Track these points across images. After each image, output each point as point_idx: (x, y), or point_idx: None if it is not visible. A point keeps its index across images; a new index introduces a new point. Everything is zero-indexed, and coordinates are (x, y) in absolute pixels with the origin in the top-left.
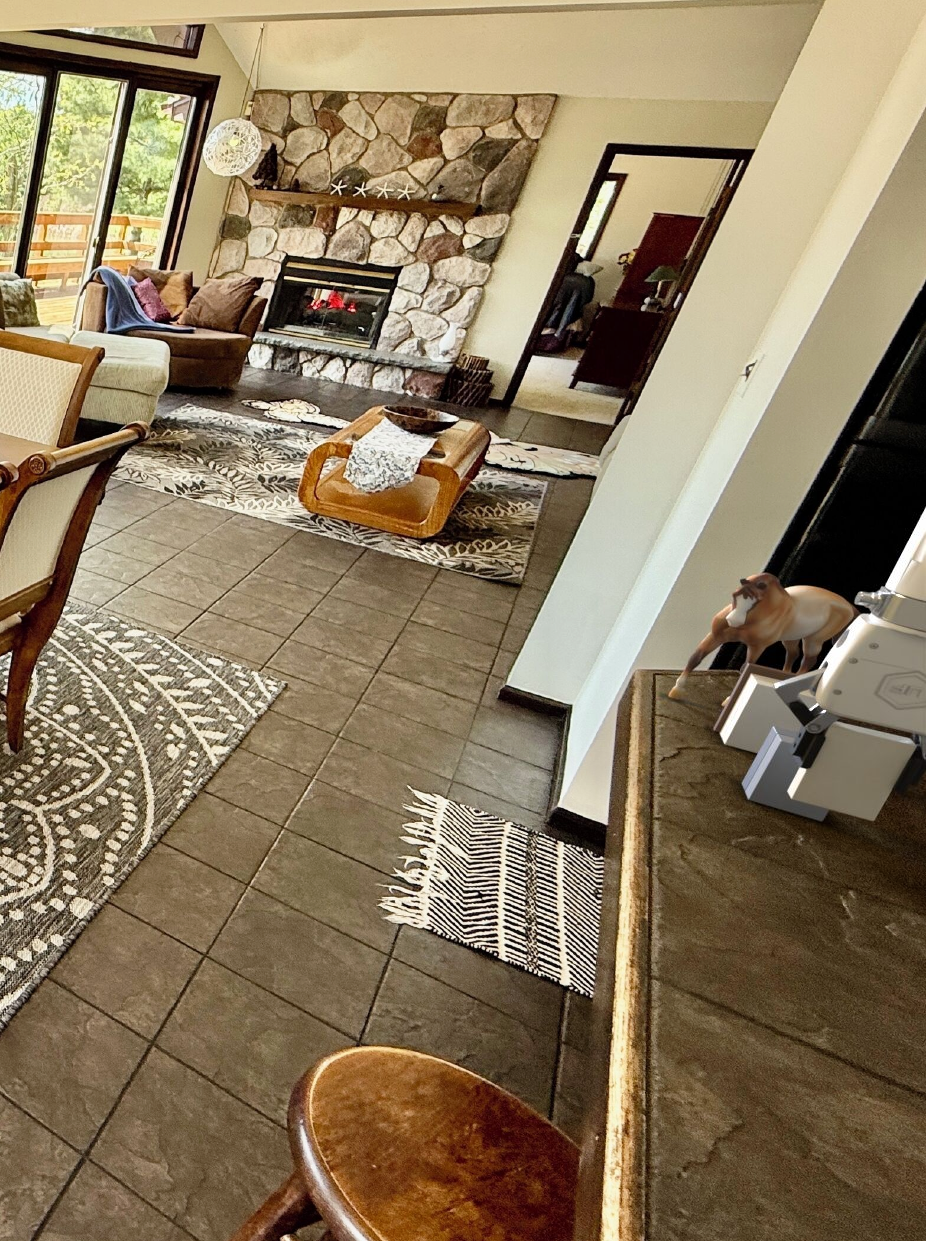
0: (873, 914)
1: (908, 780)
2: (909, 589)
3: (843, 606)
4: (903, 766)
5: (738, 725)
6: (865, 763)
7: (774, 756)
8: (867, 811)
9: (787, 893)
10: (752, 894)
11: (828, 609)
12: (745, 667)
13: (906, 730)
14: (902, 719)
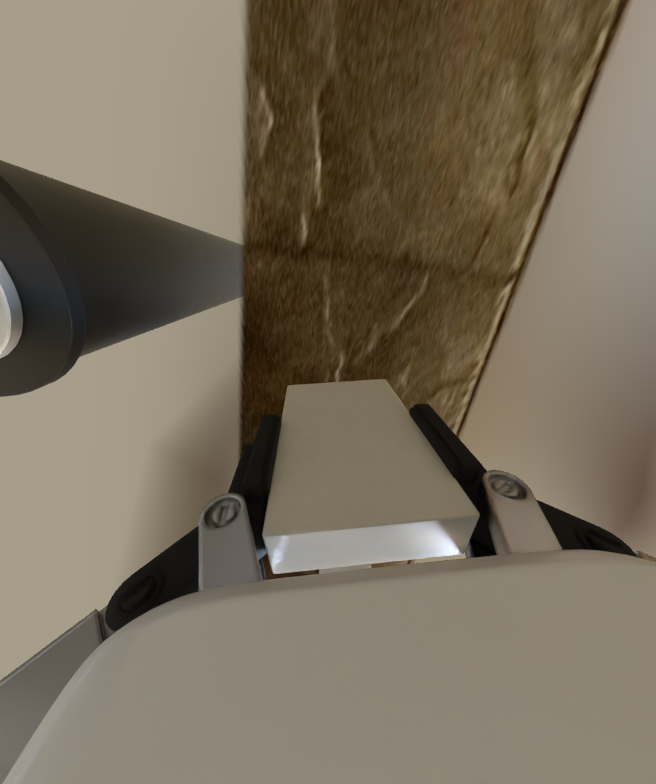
0: (283, 165)
1: (262, 435)
2: None
3: None
4: (277, 466)
5: (367, 564)
6: (341, 448)
7: None
8: (299, 391)
9: (394, 121)
10: (458, 39)
11: None
12: None
13: (328, 578)
14: (391, 667)
